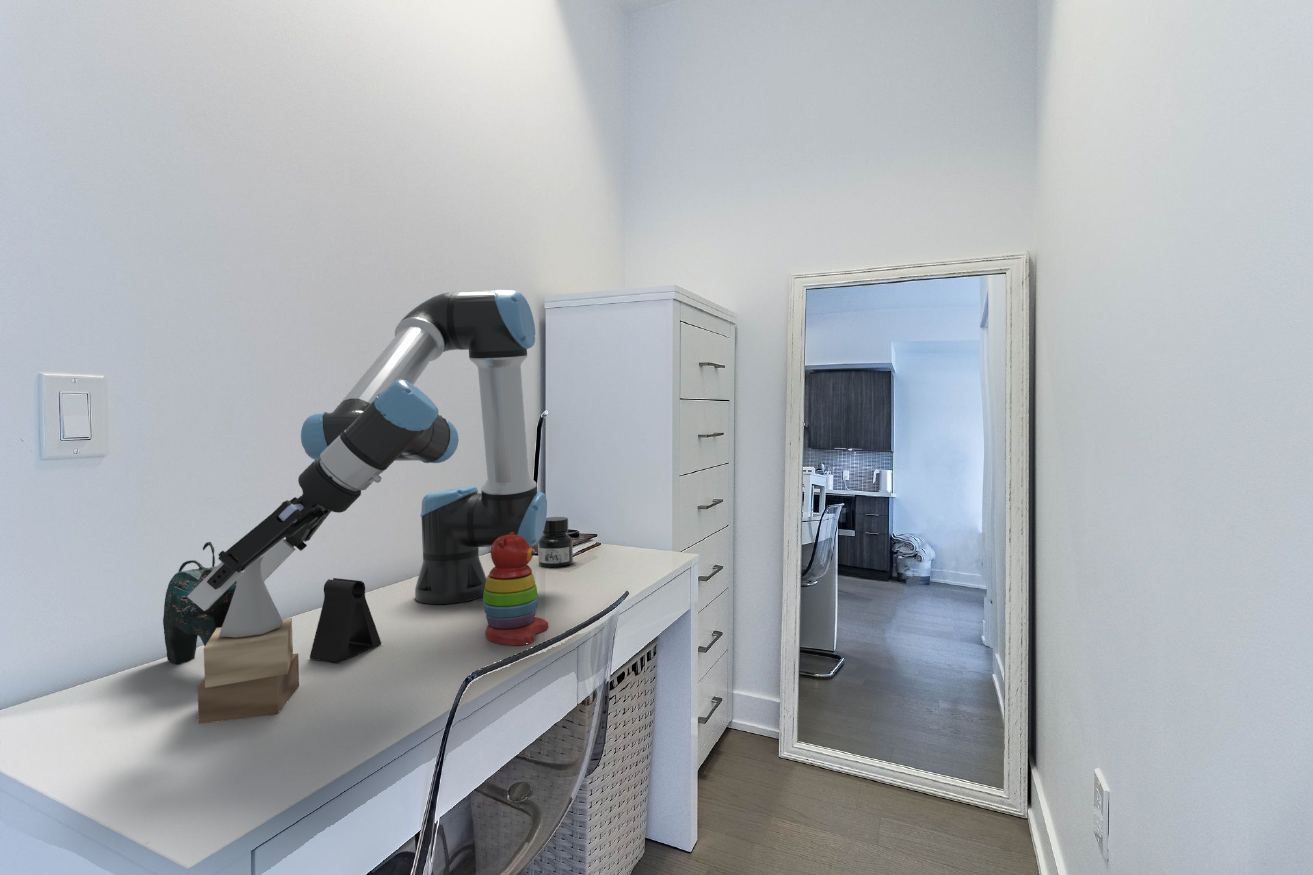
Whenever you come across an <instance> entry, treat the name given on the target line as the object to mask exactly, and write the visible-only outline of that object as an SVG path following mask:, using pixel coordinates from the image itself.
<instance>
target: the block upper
mask: <svg viewBox="0 0 1313 875" xmlns="http://www.w3.org/2000/svg"><path fill="white" fill-rule="evenodd" d="M281 619H282V621H283V622H282V624H281V626H280V627H279V628H276V629H274V630H271V631H269V632H266V633H264V634H260V635H252V636H244V637H237V638H236V637H222V636H219V634H220V631H221V628H222V627H220V628H216V630H215V632H214V633H213V635H212V636H211V638H210V639H209V641H208V643H207V644H206V646H204V647H203V663H204V664H203V665H204V666H203V668H204V680H205V688H208V687H214V686H219V685H225V684H231V683H237V682H243V681H249V680H255V679H261V678H267V677H273V676H278V675H284V674H288V671H289V667H290V662H291V658H292V654H294V650H293V649H294V645H293V622H292V621H293V620H292V619H293V618H292V617H287V618H281Z"/></svg>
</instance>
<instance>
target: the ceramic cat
mask: <svg viewBox="0 0 1313 875" xmlns="http://www.w3.org/2000/svg"><path fill="white" fill-rule="evenodd" d="M207 547H210V551H211V554H212V561H211V563H212V565H211V567H205V566H203V564H201V563H200V562H199V561H198V560H196V559H195V560H194V559H193V560H186V561H184V562H183V563H182V564H181V565H180V566H179V569H178V571H177V572H176V573H175V574H174V575H173V576H172V578H171V579H170V580H169V583H168V585H167V589H166V591H165V596H164V597H165V598H164V605H163V617H162V624H163V634H164V644H165V647H166V657H167V661H168V662H170V663H171V664H173V665H179V664H183V663H186V662H189V661H193V660H194V659H195V658H196V652H197V643H198V637H199V638H200V640H201V641H202V643H203V645H204V647H205V646H206V644H207V643H208V641H209V639H210V638H211V636H212V635H213V633H214V632H215V630H216V628H220V627H222V626H223V623H224V620H225V618H226V615H227V612H228V610H229V607H230V604H231V601H232V598H233V595H234V592H235V589H236V583H237V580H236V581H235V582H234V583H233V584H232V585H231V586H230V587H229V588H228V589H227V590H226V591H225V592H224V593H223V594H222V595H221V596H220V597H219V598H218V599H217V600H216V601H215V602H214V603H213V604H212V605H211V606H210V607H209V608H208V609H207V610H205V611H204V610H202V609H201V608H200V607H199V606H198V605H196V604H195V603H194V602H193V601H192V600H191V599H189V598H188V597H187V596H188V595H189V594H190V593H191V592H192V591H193V590H194V589H195V588H196V587H197V586H198V585H199V584H200V583H201V582H202V581H203V580H204V579H205V578H206V577H207V576H208V575H209V574H210V573H211V572H212V571H213V570H214V569H215V568H216V567H217V566H218V565H216V566H215V564H216V557H215V548H214V545H213V544H212V541H209V542H205V544H203V547H202V551H205V550H206V549H207ZM188 564H195V565H197V566H198V568H195V569H194V568H193V569H189V570H184V568H185V567H186V566H187V565H188Z"/></svg>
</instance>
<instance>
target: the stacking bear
mask: <svg viewBox="0 0 1313 875" xmlns="http://www.w3.org/2000/svg"><path fill="white" fill-rule="evenodd" d="M533 556H534V549H533V546H530V545H529V544H528V543H527V542H526V541H525V539H524V538H523V537H521V536H519V535H515V533H514V532H511V533H510V534H509V535H504V536H501V537H499V538H497V539H496V540H495V541H494V542H493V544H492V547H490V558H491V561H492V563H493V565H494V567H493V568H491V569H490V571H489V572H488V573H489V574H488V575H486V583H485V589H484V595H483V596H482V597H483V598H482V599H483V600H482V601H483V610H484V613H485V617H486V621H487V627H486V628H485V629H486V630H485V632H484V633H485V634H484V636H485V638H486V639H487V640H488V641H491V643H492V642H493V643H496V644H500V645H506V646H507V645H508V646H525V645H524V644H526V643H529V644H532V642H531V641H533V642H534V640H535V635H537V634H538V633H537V632H539V633H542V632H544V631H543V630H545V631H546V630H548V629H549V623H548V621H547V620H546V619H545V618H543V617H538V616H536V613H537V608H538V595H539V594H538V587H537V585H536V580H535V577H534V574H533V570H532V568H531V567H530V566H529V565H528V564H529V563H530V562H531V561H532V559H533ZM541 631H542V632H541ZM536 633H537V634H536ZM534 634H535V635H534ZM526 645H527V644H526Z"/></svg>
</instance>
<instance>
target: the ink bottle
mask: <svg viewBox="0 0 1313 875" xmlns="http://www.w3.org/2000/svg"><path fill="white" fill-rule="evenodd" d="M568 532H569V518H568V517H565V516H551V517H550V516H549V517H546V522H545V527H544V531H543V534H542V536H541V538H540V540H539V542H538V543H537V550H538V551H537V553H538V555H537V557H538V558H537V559H538V565H539V566H541V567H543V568H544V567H545V568H562V567H567V566H570V565H571V564H573V562H574V561H573V560H574V556H573V554H574V553H573V539H572V536H570V535H569V534H568Z"/></svg>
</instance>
